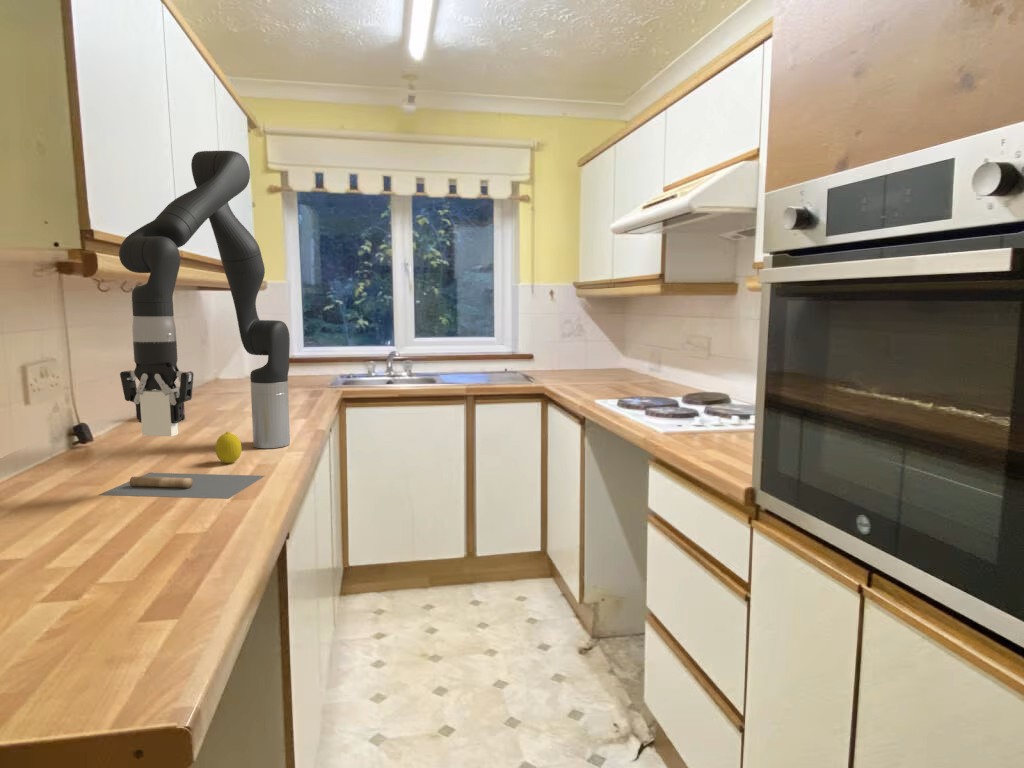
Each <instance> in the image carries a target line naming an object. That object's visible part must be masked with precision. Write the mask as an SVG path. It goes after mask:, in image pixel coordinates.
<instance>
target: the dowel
mask: <svg viewBox="0 0 1024 768" xmlns="http://www.w3.org/2000/svg"><path fill="white" fill-rule="evenodd" d="M129 481H130V486H132V487H168V488H191V487H192V485H193V480H192V478H168V477H140V476H131V477H130V478H129Z"/></svg>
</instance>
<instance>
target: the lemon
mask: <svg viewBox="0 0 1024 768" xmlns="http://www.w3.org/2000/svg"><path fill="white" fill-rule="evenodd" d="M239 438H240V437H238V436H237V435H236V434H234V433H232V432H231V431H226V432H224V433H223V434H222V435H220V436H219V437H218V438H217V440H216V443H215V454H216V457H217V458H218V460H219V461H221V462H222V463H224V464H226V465H229V464H233V463H234V462H236V461H238V459H240V456H241V455H242V443H241V440H240V439H239Z"/></svg>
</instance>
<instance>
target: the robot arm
mask: <svg viewBox="0 0 1024 768" xmlns="http://www.w3.org/2000/svg"><path fill="white" fill-rule="evenodd" d="M190 166H191V174H192V178H193V181H194V185H195V187H196V188H194V189H192V190H190V191H187V192H186V193H184V194H182V195H180V196H179V197H177V198H175V199H174V200H172V201H171V202H170V203H168V204H167V205H166V206H165V207H164V209H162V211H161V212H160V213H159V214H158V215H157V216H156V218H154V219H153V220H152V221H150V222H148V223H146V224H144V225H143V226H141V227H139V228H137V229H136V230H134V231H132V232H130V234H129V235H128V236H126V237H125V239H124V240H122V242H121V244H120V247H119V251H118V255H119V256H118V257H119V261H120V263H121V265H122V266H123V267H124V268H125V269H127V270H128V271H129V272H132V273H137V274H149V277H148V280H147V282H146V283H144V284H142V285H139V286H136V287H134V288H133V290H132V292H131V305H132V330H131V331H132V345H133V361H134V363H135V367H134V370H124V371H121V372H120V373H119V376H120V380H121V381H120V383H121V388H122V391H123V395H124V400H125V401H127V402H132V403H134V404H135V412H136V419H137V421H138V423H140V424H142V423H141V407H140V394H141V395H142V394H143V392H144V391H147V390H162V391H163V393H164V394H165V395H166V396H167V395H169V397H170V403H171V404H172V405H170V410H171V423H178V424H179V423H180V422H181V421H180V420H181V419H182V417H183V415H182V404H183V402H184V403H186V402H188V401H191V400H192V396H193V386H194V372H193V371H192V370H191V371H182V370H179V368H178V365H177V364H178V348H177V347H178V345H177V328H176V322H175V317H174V316H175V315H174V301H173V300H174V298H173V296H174V291H175V287H176V284H177V279H178V274H179V270H180V266H181V254H180V251H179V250H180V249H179V248H181V247H183V246H185V245H186V244H187V243H188V242H189V240H190V239H191V238H192V237H193V236H194V234H195V233H197V231H198V230H199V229H200V227H202V225H204V223H205V222H206V221H207V220H208V221H209V223H210V225H211V228H212V229H211V230H212V232H213V235H214V238H215V242H216V244H217V249H218V252H219V257H220V261H221V264H222V266H223V267H222V268H223V270H224V271H223V272H224V273H225V276H226V281H227V282H228V287H229V290H230V293H231V296H232V299H233V300H232V301H233V305H234V308H235V310H234V311H235V315H236V319H237V320H236V321H237V326H238V331H239V336H240V341H241V343H242V346H243V348H244V350H245V351H246V352H247V353H248V354H249V355H254V356H267V362H266V363H265V364H264V365H263V366H260V367H259V368H255V369H253V370H251V372H250V396H251V399H250V401H251V419H252V423H251V424H252V443H253V445H252V446H253V447H254V448H258V449H275V448H276V449H277V448H283V447H287V446H289V445H290V444H291V435H290V432H291V431H290V430H291V429H290V405H289V402H290V400H289V378H288V377H289V370H290V346H291V342H290V340H291V338H290V331H289V327H288V326H287V324H286V323H285V322H284V321H282V320H276V319H275V320H270V319H269V320H267V319H266V320H265V319H260V318H259V315H258V312H257V305H256V304H257V303H256V301H257V297H258V294H259V292H260V290H261V286H262V285H263V281H264V278H265V272H266V270H265V263H264V261H263V260H264V259H263V255H262V252H261V249H260V246H259V244H258V242H257V240H256V239H255V237H254V236H253V235H252V234H251V233H250V231H249V230H248V229H247V228H246V227H245V226H244V225H243V223H241V221H240V220H239V219H238V218H237V217H236V215H235V213H234V212H233V211H232V209H231V207H230V205H229V202H230V201H231V200H232V199H233V198H235V197H236V196H238V195H240V194H241V193H242V192H243V191H244V190H245V189H246V188H247V187H248V185H249V183H250V179H251V170H250V167H249V163H248V161H247V160H246V158H245V156H244V155H243V154H242V153H240V152H237V151H233V150H201V151H198V152H195V153H194V155H193V156H192V158H191V165H190ZM136 379H137V380H138V381H139V383H138V386H137V383H136ZM177 379H178V382H180V383H179V386H178V384H177V383H176V380H177ZM178 387H180V393H179V388H178ZM170 388H171V389H170ZM174 393H175V395H174Z"/></svg>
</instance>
